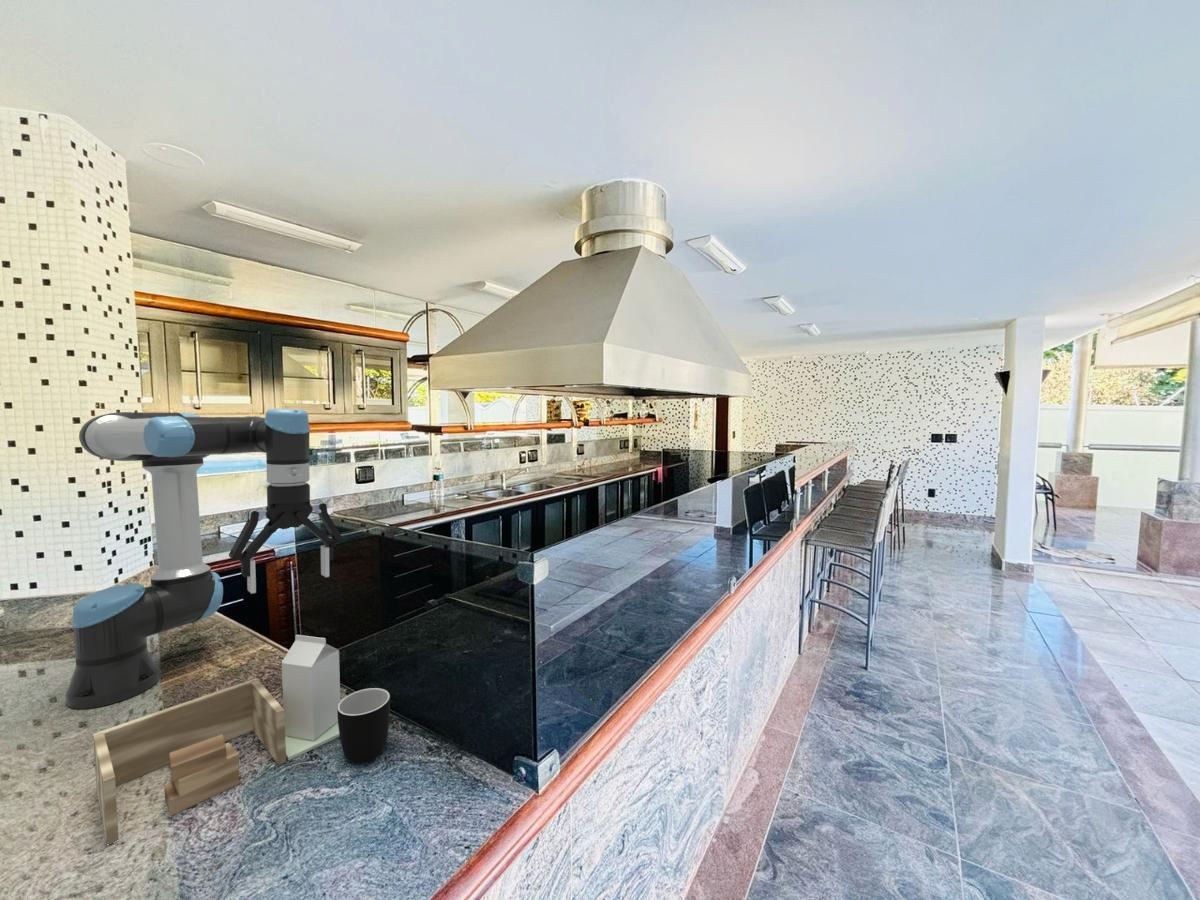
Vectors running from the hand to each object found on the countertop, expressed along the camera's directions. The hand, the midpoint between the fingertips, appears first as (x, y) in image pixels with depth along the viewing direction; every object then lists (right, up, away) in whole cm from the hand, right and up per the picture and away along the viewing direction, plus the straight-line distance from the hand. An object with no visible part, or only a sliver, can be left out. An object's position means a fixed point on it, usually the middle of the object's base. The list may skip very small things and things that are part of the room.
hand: (290, 583), depth 102 cm
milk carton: (+7, -29, -4) cm, 30 cm away
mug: (+19, -30, -9) cm, 37 cm away
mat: (+7, -29, -4) cm, 30 cm away
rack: (-7, -30, -16) cm, 34 cm away
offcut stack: (-2, -30, -20) cm, 36 cm away
